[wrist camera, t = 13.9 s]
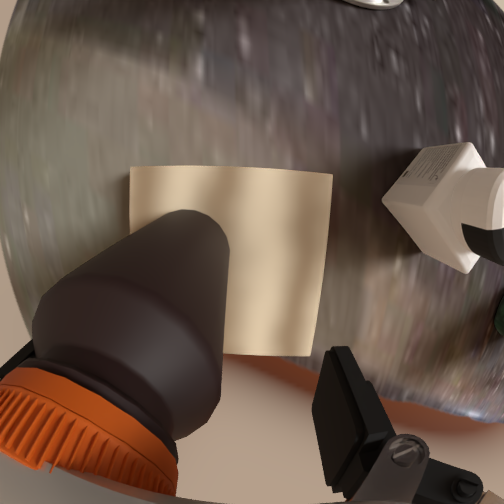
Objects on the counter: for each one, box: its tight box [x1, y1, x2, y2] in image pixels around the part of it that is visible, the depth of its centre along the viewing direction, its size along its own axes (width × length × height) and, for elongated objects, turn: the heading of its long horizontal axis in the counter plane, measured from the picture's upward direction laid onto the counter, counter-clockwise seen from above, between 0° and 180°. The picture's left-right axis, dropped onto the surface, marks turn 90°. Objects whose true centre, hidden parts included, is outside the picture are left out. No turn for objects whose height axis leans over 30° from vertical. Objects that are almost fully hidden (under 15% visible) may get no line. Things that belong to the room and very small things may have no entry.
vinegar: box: [0, 209, 230, 497], centre depth 12 cm, size 7×7×20 cm
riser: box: [130, 166, 333, 356], centre depth 24 cm, size 16×16×3 cm
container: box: [382, 142, 504, 274], centre depth 17 cm, size 8×8×13 cm
